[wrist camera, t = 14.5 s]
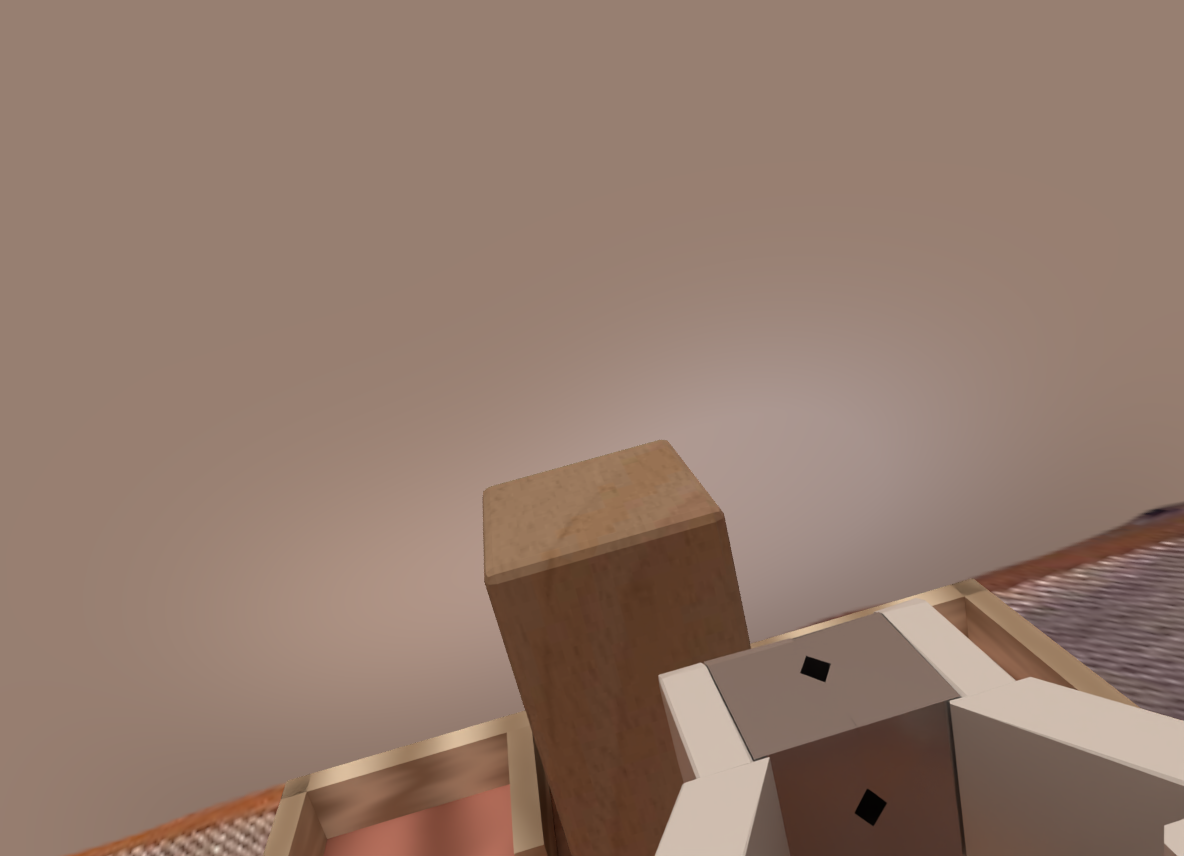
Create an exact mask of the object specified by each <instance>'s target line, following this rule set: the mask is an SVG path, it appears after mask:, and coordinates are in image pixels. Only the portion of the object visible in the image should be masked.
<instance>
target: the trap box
mask: <svg viewBox="0 0 1184 856" xmlns="http://www.w3.org/2000/svg"><path fill="white" fill-rule="evenodd" d="M914 598H919V599H922V600H925V601H927V602H928V603H929V604H930V605H931V606H932V607H933V608H935V609H936V610H937V611H938V612H939V613H940V614H941V615H942V616H944V617H945V618H946V619H947V620H948V621H949V622H950V623H952V624H953V625H954V626H955V627H956V628H957V629H958V630H959V631H961V632H962V633H963V634H964V635H965V636H966V637H967V638H969V639H970V640H971V641H972V642H973V643H974V644H975V645H976V646H978V647H979V648H980V649H981V650H982V651H983V652H984V653H986V654H987V655H988V656H989V657H990V658H991V659H992V660H993V661H995V662H996V663H997V664H998V665H999V666H1000V667H1001V668H1003V669H1004V670H1005V671H1006V672H1007V673H1008V674H1009V675H1010V676H1012V677H1013V678H1014V679H1015V680H1016V681H1018V680H1021V679H1025V678H1028V677H1033V678H1036V679H1040V680H1043V681H1047V682H1050V683H1054V684H1057V685H1061V686H1064V687H1068V688H1071V689H1074V690H1078V691H1081V692H1085V693H1088V694H1092V695H1095V696H1099V697H1102V698H1106V699H1109V700H1113V701H1116V702H1119V703H1123V704H1126V705H1130V706H1133V707H1137V708H1139V707H1138V706H1137V705H1136V704H1134V703H1133V702H1132V701H1130V700H1129V699H1128V698H1127V697H1125V696H1124V695H1123V694H1121V693H1120V692H1119V691H1117V690H1116V689H1115V688H1114V687H1112V686H1111V685H1110V684H1108V683H1107V682H1106V681H1105V680H1103V679H1102V678H1101V677H1099V676H1098V675H1097V674H1096V673H1094V672H1093V671H1092V670H1090V669H1089V668H1088V667H1086V666H1085V665H1084V664H1083V663H1081V662H1080V661H1079V660H1077V659H1076V658H1075V657H1074V656H1072V655H1071V654H1070V653H1068V652H1067V651H1066V650H1064V649H1063V648H1062V647H1061V646H1059V645H1058V644H1057V643H1055V642H1054V641H1053V640H1052V639H1050V638H1049V637H1048V636H1046V635H1045V634H1044V633H1043V632H1041V631H1040V630H1039V629H1037V628H1036V627H1035V626H1033V625H1032V624H1031V623H1030V622H1028V621H1027V620H1026V619H1024V618H1023V617H1022V616H1021V615H1019V614H1018V613H1017V612H1015V611H1014V610H1013V609H1011V608H1010V607H1009V606H1008V605H1006V604H1005V603H1004V602H1002V601H1001V600H1000V599H999V598H997V597H996V596H995V595H993V594H992V593H991V592H990V591H988V590H987V589H986V588H984V587H983V586H982V585H980V584H979V583H978V582H977V581H975V580H974V579H973V578H972V579H968V580H965V581H962V582H958V583H955V584H952V585H948V586H945V587H941V588H938V589H935V590H931V591H928V592H925V593H921V594H918V595H914V596H911V597H908V598H904V599H901V600H897V601H894V602H891V603H887V604H884V605H881V606H877V607H874V608H870V609H867V610H864V611H860V612H857V613H854V614H850V615H847V616H843V617H840V618H837V619H833V620H830V621H826V622H823V623H820V624H816V625H813V626H810V627H806V628H803V629H799V630H796V631H793V632H789V633H786V634H783V635H779V636H776V637H772V638H769V639H766V640H762V641H759V642H755V643H752V644H750V646H751V649H752V648H756V647H759V646H763V645H767V644H770V643H774V642H778V641H781V640H785V639H789V638H791V639H792V638H795V637H799V636H802V635H805V634H808V633H812V632H815V631H818V630H821V629H825V628H828V627H831V626H834V625H838V624H841V623H844V622H848V621H851V620H854V619H857V618H861V617H864V616H867V615H870V614H873V613H874V612H875V611H878V610H881V609H884V608H887V607H890V606H893V605H896V604H899V603H902V602H905V601H908V600H911V599H914ZM1140 709H1141V708H1140ZM263 856H558V853H557V845H556V837H555V829H554V821H553V813H552V805H551V797H550V789H549V783H548V780H547V777H546V774H545V771H544V768H543V764H542V761H541V758H540V755H539V752H538V749H537V746H536V742H535V739H534V736H533V733H532V730H531V727H530V723H529V720H528V717H527V714H526V711H522V712H519V713H516V714H512V715H509V716H506V717H502V718H498V719H495V720H492V721H488V722H485V723H482V724H478V725H475V726H472V727H468V728H465V729H462V730H458V731H455V732H451V733H448V734H444V735H441V736H438V737H435V738H431V739H427V740H424V741H421V742H417V743H414V744H411V745H407V746H404V747H400V748H397V749H394V750H390V751H387V752H384V753H380V754H377V755H373V756H370V757H367V758H363V759H360V760H356V761H353V762H350V763H347V764H343V765H340V766H337V767H333V768H330V769H326V770H323V771H319V772H316V773H313V774H309V775H306V776H302V777H299V778H296V779H292V780H289V781H287V782H286V785H285V788H284V791H283V794H282V798H281V801H280V804H279V807H278V810H277V813H276V816H275V819H274V822H273V826H272V829H271V832H270V835H269V838H268V841H267V844H266V847H265V851H264V854H263Z"/></svg>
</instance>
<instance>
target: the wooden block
mask: <svg viewBox="0 0 1184 856" xmlns="http://www.w3.org/2000/svg"><path fill="white" fill-rule="evenodd" d="M483 537H484V538H483V539H484V582H485V585H486V588H487V591H488V594H489V598H490V601H491V604H492V607H493V610H494V613H495V617H496V620H497V622H498V626H499V629H500V632H501V635H502V638H503V642H504V645H505V648H506V651H507V654H508V657H509V661H510V664H511V667H512V670H513V673H514V676H515V679H516V683H517V686H518V689H519V692H520V695H521V698H522V701H523V705H524V708H525V711H526V714H527V717H528V720H529V723H530V727H531V730H532V733H533V736H534V739H535V742H536V746H537V749H538V752H539V755H540V758H541V761H542V764H543V768H544V771H545V774H546V777H547V780H548V783H549V786H550V790H551V793H552V796H553V799H554V802H555V805H556V808H557V812H558V815H559V818H560V821H561V824H562V827H563V830H564V834H565V837H566V840H567V843H568V846H569V849H570V852H571V856H655V854H656V851H657V849H658V846H659V843H660V841H661V838H662V836H663V833H664V831H665V828H666V825H667V823H668V820H669V818H670V815H671V813H672V810H673V808H674V805H675V802H676V800H677V797H678V795H679V792H680V790H681V787H682V785H683V784H684V782H683V778H682V775H681V771H680V768H679V764H678V760H677V756H676V752H675V748H674V744H673V740H672V736H671V732H670V728H669V724H668V720H667V716H666V712H665V708H664V704H663V700H662V696H661V692H660V688H659V679H658V675H660V674H664V673H667V672H670V671H674V670H677V669H681V668H684V667H687V666H691V665H694V664H698V663H702V664H703V662H704V661H708V660H712V659H715V658H719V657H723V656H726V655H730V654H734V653H737V652H741V651H745V650H748V649H751V646H750V641H749V636H748V631H747V626H746V621H745V616H744V611H743V606H742V601H741V596H740V591H739V586H738V581H737V577H736V571H735V566H734V562H733V557H732V552H731V547H730V542H729V537H728V532H727V527H726V522H725V517H724V513H723V512H722V511H721V509H720V508H719V507H718V505H717V504H716V503H715V501H714V500H713V499H712V498H711V496H710V495H709V494H708V492H707V491H706V490H705V488H704V487H703V486H702V485H701V483H699V481H698V479H697V478H696V477H695V476H694V474H693V473H692V472H691V470H690V469H689V468H688V467H687V465H686V464H685V463H684V461H683V460H682V459H681V457H680V456H679V455H678V454H677V453H676V451H675V450H674V449H673V447H672V446H671V445H670V443H669V442H668V441H666V440H658V441H654V442H651V443H647V444H643V445H639V446H636V447H632V448H629V449H625V450H621V451H618V452H614V453H611V454H607V455H604V456H600V457H596V458H592V459H589V460H585V461H581V462H578V463H574V464H571V465H567V466H563V467H560V468H557V469H552V470H549V471H545V472H542V473H538V474H534V475H531V476H527V477H524V478H520V479H516V480H513V481H509V482H506V483H502V484H498V485H495V486H491V487H489V488H487V489H486V490H485V491H484V492H483Z"/></svg>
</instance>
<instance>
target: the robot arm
mask: <svg viewBox="0 0 1184 856" xmlns="http://www.w3.org/2000/svg"><path fill="white" fill-rule="evenodd" d="M658 679H659V688H660V692H661V696H662V700H663V704H664V708H665V712H666V716H667V720H668V724H669V728H670V732H671V736H672V740H673V744H674V748H675V752H676V756H677V760H678V764H679V768H680V771H681V775H682V778H683V782H684V784H683V785H682V787H681V790H680V792H679V795H678V797H677V800H676V802H675V805H674V808H673V810H672V813H671V815H670V818H669V820H668V823H667V825H666V828H665V831H664V833H663V836H662V838H661V841H660V843H659V846H658V849H657V851H656V854H655V856H1184V721H1182V720H1178V719H1175V718H1171V717H1168V716H1165V715H1161V714H1158V713H1154V712H1151V711H1147V710H1144V709H1140V708H1137V707H1133V706H1130V705H1126V704H1123V703H1119V702H1116V701H1113V700H1109V699H1106V698H1102V697H1099V696H1095V695H1092V694H1088V693H1085V692H1081V691H1078V690H1074V689H1071V688H1068V687H1064V686H1061V685H1057V684H1054V683H1050V682H1047V681H1043V680H1040V679H1036V678H1033V677H1028V678H1025V679H1021V680H1018V681H1016V680H1015V679H1014V678H1013V677H1012V676H1010V675H1009V674H1008V673H1007V672H1006V671H1005V670H1004V669H1003V668H1001V667H1000V666H999V665H998V664H997V663H996V662H995V661H993V660H992V659H991V658H990V657H989V656H988V655H987V654H986V653H984V652H983V651H982V650H981V649H980V648H979V647H978V646H976V645H975V644H974V643H973V642H972V641H971V640H970V639H969V638H967V637H966V636H965V635H964V634H963V633H962V632H961V631H959V630H958V629H957V628H956V627H955V626H954V625H953V624H952V623H950V622H949V621H948V620H947V619H946V618H945V617H944V616H942V615H941V614H940V613H939V612H938V611H937V610H936V609H935V608H933V607H932V606H931V605H930V604H929V603H928V602H927V601H925V600H922V599H919V598H914V599H911V600H908V601H905V602H902V603H899V604H896V605H893V606H890V607H887V608H884V609H881V610H878V611H875V612H874V613H873V614H870V615H867V616H864V617H861V618H857V619H854V620H851V621H848V622H844V623H841V624H838V625H834V626H831V627H828V628H825V629H821V630H818V631H815V632H812V633H808V634H805V635H802V636H799V637H795V638H792V639H791V638H789V639H785V640H781V641H778V642H774V643H770V644H767V645H763V646H759V647H756V648H752V649H748V650H745V651H741V652H737V653H734V654H730V655H726V656H723V657H719V658H715V659H712V660H708V661H704V662H703V664H702V663H698V664H694V665H691V666H687V667H684V668H681V669H677V670H674V671H670V672H667V673H664V674H660V675H658Z"/></svg>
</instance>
